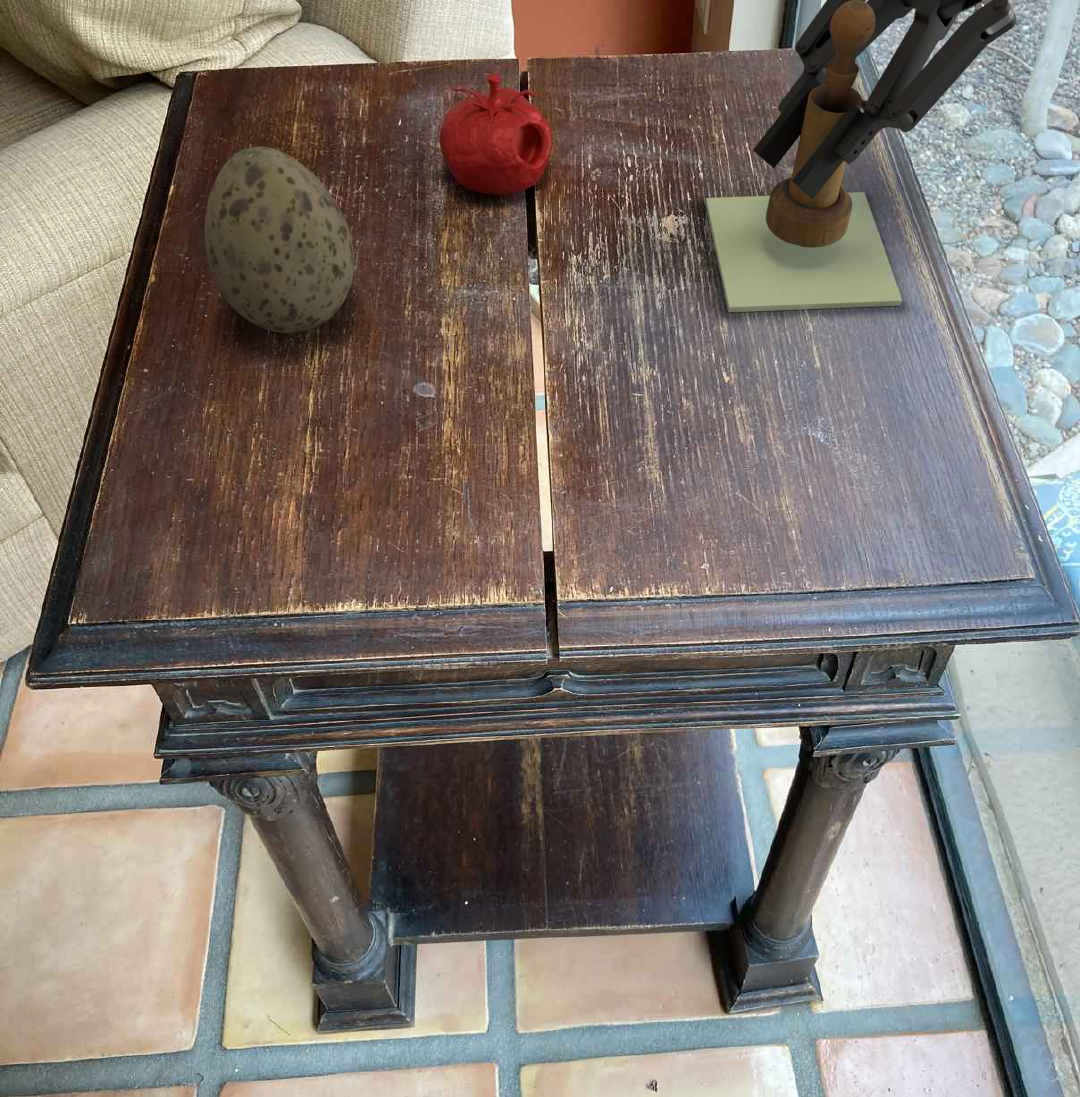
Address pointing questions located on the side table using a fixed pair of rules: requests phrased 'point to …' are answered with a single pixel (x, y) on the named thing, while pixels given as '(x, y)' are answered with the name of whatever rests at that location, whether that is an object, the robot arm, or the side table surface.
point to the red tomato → (496, 140)
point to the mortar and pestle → (826, 105)
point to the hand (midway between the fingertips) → (783, 174)
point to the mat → (797, 261)
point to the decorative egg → (277, 242)
